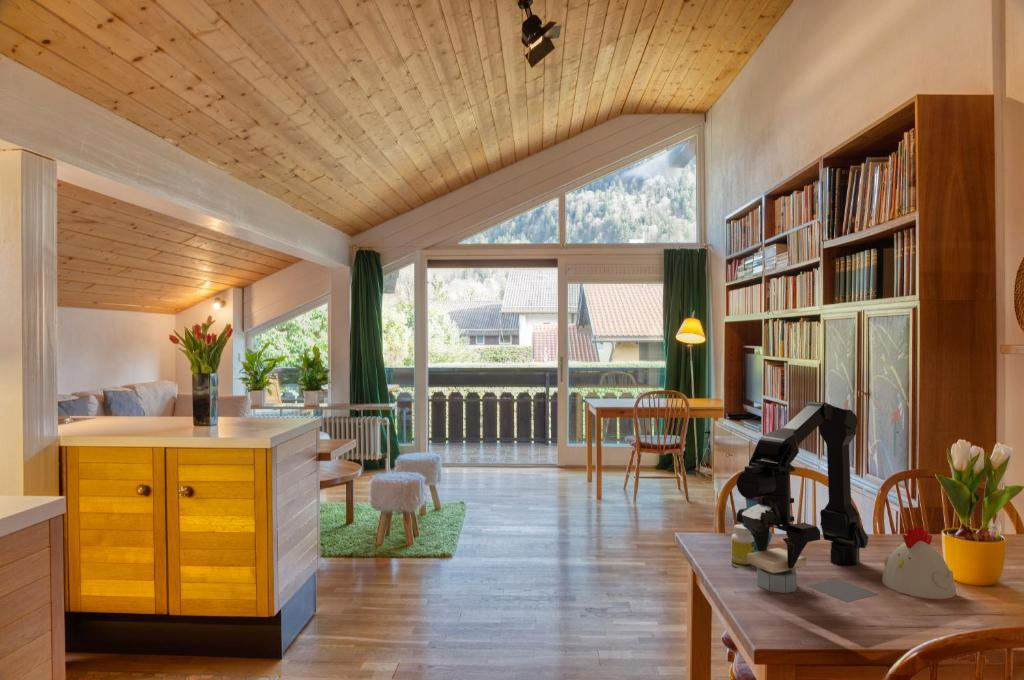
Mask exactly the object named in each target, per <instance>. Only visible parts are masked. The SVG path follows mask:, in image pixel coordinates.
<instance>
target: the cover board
mask: <svg viewBox="0 0 1024 680" xmlns="http://www.w3.org/2000/svg"><path fill="white" fill-rule="evenodd" d="M747 563H749V564H752V565H751V566H754V567H756V568H757V567H759V568H761V569H764V570H766V571H769V572H771V573H778V572H783V571H787V570H792V569H795V570H796V569H801V568H806V567H807V557H805V556H803V555H801V554H800V556H799V558H798V559H797V561H796V563H795V565H794V567H793V568H788V559H787V549H784V548H781V547H776V548H770V549H767V550H764V551H759V552H753V553H748V554H747Z"/></svg>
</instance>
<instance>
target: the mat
mask: <svg viewBox="0 0 1024 680" xmlns="http://www.w3.org/2000/svg"><path fill="white" fill-rule="evenodd" d="M806 587H809V588H811V589H813V590H816V591H819V592H821V593H823V594H826V595H828V596H831V597H833V598H836V599H838V600H840V601H843V602H845V603H850V602H853V601H857V600H861V599H865V598H870V597H874V596H879V593H876V592H874V591H871V590H868V589H865V588H863V587H860V586H858V585H856V584H852V583H850V582H848V581H845V580H842V579H839V578H834V579H829V580H826V581H822V582H821V581H820V582H817V583H812V584H808V585H806Z"/></svg>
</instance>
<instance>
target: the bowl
mask: <svg viewBox="0 0 1024 680" xmlns="http://www.w3.org/2000/svg"><path fill="white" fill-rule="evenodd" d="M756 583H757V587H758V588H762V589H764V590H766V591H769V592H773V593H775V592H776V593H782V594H787V593H793V592H796V591H797V571H796V569H792V570H787V571H783V572H778V573H771V572H769V571H766V570H764V569H761V568H759V567H757V566H756Z"/></svg>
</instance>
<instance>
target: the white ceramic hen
mask: <svg viewBox="0 0 1024 680" xmlns="http://www.w3.org/2000/svg"><path fill="white" fill-rule="evenodd" d="M906 532H907V534H902V538H903V541H904V542H903V543H901V544H900V545H899V546H897V548H895V550H893V552H892V553H891V554H887V555H886V556H885V558H884V569H883V573H882V579H881V581H882V584H883V585H884V586H885V587H887V588H888V589H889V590H892V591H894V592H897V593H900V594H903V595H906V596H910V597H915V598H920V599H926V600H939V601H940V600H941V601H942V600H949V599H952V598H955V597H956V596H957V590H956V585H955V582H954V571H953V570H950V568H949V566H948V564H947V563H946V561H945V559H944V558H943V556H942V555H941V553H939V551H937V550H936V549H935V547H933V546H932V545H931V543H932V539H933V535H932V534H928V533H929V531H928V530H924V527H923V526H921V525H918V526H913V528H909V527H907V531H906Z"/></svg>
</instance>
